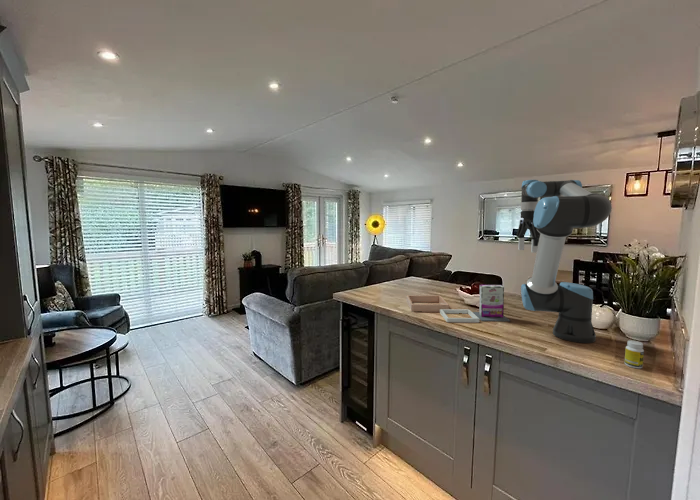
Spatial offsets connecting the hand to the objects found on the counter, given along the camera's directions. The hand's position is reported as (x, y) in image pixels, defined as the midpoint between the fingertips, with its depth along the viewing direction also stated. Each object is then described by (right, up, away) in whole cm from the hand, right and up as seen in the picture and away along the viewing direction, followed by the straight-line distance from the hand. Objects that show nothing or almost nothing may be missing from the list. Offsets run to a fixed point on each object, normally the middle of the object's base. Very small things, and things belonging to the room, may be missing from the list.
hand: (527, 251), depth 161 cm
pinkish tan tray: (-47, -33, +23) cm, 62 cm away
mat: (-19, -35, +1) cm, 40 cm away
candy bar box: (-19, -35, +1) cm, 39 cm away
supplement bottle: (+6, -40, -54) cm, 67 cm away
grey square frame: (-36, -35, +2) cm, 50 cm away
